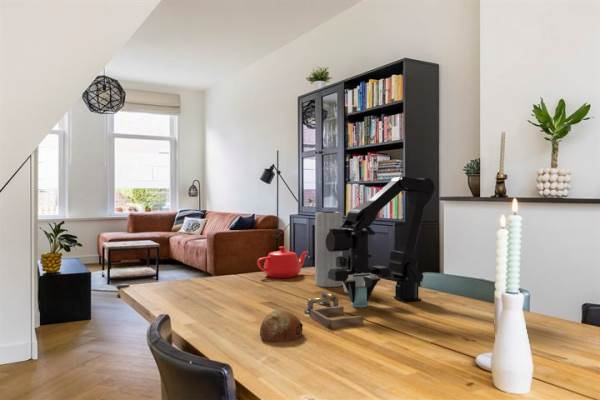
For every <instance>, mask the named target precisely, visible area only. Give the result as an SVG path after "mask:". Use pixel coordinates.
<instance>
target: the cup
mask: <svg viewBox="0 0 600 400" xmlns="http://www.w3.org/2000/svg"><path fill="white" fill-rule="evenodd" d="M346 271H350V270H346ZM354 274H356V273H354ZM353 280H354V281H356V286H365V281H364V278H363V276H356V277H353ZM342 286H343V291H344V293H345V294H348V291H347V289H346V286H345V284H344V283H343V282H342Z"/></svg>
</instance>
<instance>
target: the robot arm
mask: <svg viewBox="0 0 600 400" xmlns="http://www.w3.org/2000/svg"><path fill="white" fill-rule="evenodd" d="M435 189H436V184H434V181H433V180H432V179H431V178H430V177H429V178H428V177H425V178H424V177H419V178H415V177H407V176H405V175H404V176H403V175H401V176H394V177H393V178H391V180H390V181H389V182H388V183H387V184H386V185H384V186H383V187H382V188H380V190H379V191H377V193H375V194H374V195H373V196H372V197H371V198H369V199H368V200H367V201H365V202H363V203H360V204H358V205H356V206H355V207H353V208H352V209H350V210H349V211H347V217H346V218H345V220H344V222H342V226H341V228H340V229H333V228H331V229H329V233H328V234H327V237H326V240H325V242H326V247H327V250H328V251H329V252H337V251H342V252H347V258H344V256H343V255H342V256H340V257H336V266H337V267H342V269H340V268H339V269H330V270H329V272H328V278H329V279H331V280H334V281H342V284H343V283H344V284H345V286H346V289H347V291H348V293H347V294H348V297H349V300H350V302H351V303H354V299H355V286H356V281H354V280H353V277H356V276H363V278H364V286H365V287H367V302H368V301H369V299H370V298H371V296H372V294H373V291H374V289H375V287H376V286H377V284H378V282H380V281H381V278H382V279H383V278H391V276H392V277H393V279H395V280H396V284H395V285H394V287H395V288H394V289H395V292H394V293H395V295H394V296H393V299H395V300H398V301H402V302H404V303H407V302H408V303H409V302H419V301H420V302H421V301H422V298H421V297H419V291H420V289H419V285H420V284H419V283H422V282H423V279H424V274H423V273H422V272H421V271H420V270H419V268H417V266H418V259H417V254H416V246H417V241H418V238H419V237H418V236H419V233H420V229H421V224H422V220H423V215H424V211H425V207H426V206H427V204H429V202H431V200H432V197H433V195H434V193H435ZM402 192H406V197H407V201H408V208H407V211H406V216H405V221H404V224H403V228H402V232H401V233H402V234H401V237H400V242H399V245H398V247H397V249H396V250H391V251H390V256H389V260H388V264H389V265H388V267H387V266H383V265H373V266H372V265H371V266H370V259H371V258H372V254H371V253H370V236H375V235H376V231H374V230H373V229H372V228H371V227H370V226H371V225H372V224H373V223H374V221H376V219H377V218H378V214H379V212H380V211H381V210H382V209H383V208H384V207H386V206H387V205H388V204H389V203H390V202H392V200H393V199H395V198H396V197H397V196H398V195H399V194H400V193H402ZM348 251H349V252H348ZM346 270H350V271H346ZM354 273H356V274H354ZM391 274H392V275H391ZM379 276H380V278H379Z"/></svg>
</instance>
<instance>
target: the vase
mask: <svg viewBox="0 0 600 400" xmlns="http://www.w3.org/2000/svg"><path fill="white" fill-rule="evenodd" d="M314 215H315V217H314V219H315V221H314V222H315V223H314V225H315V227H314V228H315V229H314V231H315V234H314V235H315V238H314V239H315V241H314V243H315V249H314V250H315V253H314V254H315V256H314V257H315V259H314V266H315V268H314V269H315V271H314V274H315V277H314V278H315V279H314V282H315V286H317V287H322V288H337V287H341V286H343V282H342V281H334V280H331V279H329V278H328V272H329V270H330V269H339V268H340V269H342V267H337V266H336V257H340V256H343V251H337V252H329V251H328V250H327V247H326V242H325V240H326V237H327V234H328V233H329V229H331V228H333V229H340V228H341V226H342V225H343V211H316V212H315V214H314Z"/></svg>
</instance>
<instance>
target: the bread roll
mask: <svg viewBox="0 0 600 400" xmlns="http://www.w3.org/2000/svg"><path fill="white" fill-rule="evenodd" d="M303 326H304V324H303V323H302V321H301V320H300V318H298V317H297V316H296V315H295V314H294V313H292V312H290V311H288V310H287V311H286V310H284V309H283V310H282V309H275V310H272V311H271V312H269V313H268V314H266V316H265V317H264V318H263V320H262V321H261V325H260V327H259V335H260V337H261V338H262V340H264V341H266V342H270V343H285V342H293V341H296V340H298V339H299V338H300V337H302V333H303V329H304V328H303Z"/></svg>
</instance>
